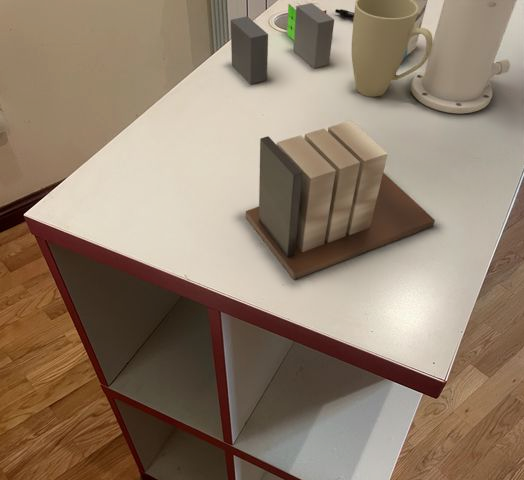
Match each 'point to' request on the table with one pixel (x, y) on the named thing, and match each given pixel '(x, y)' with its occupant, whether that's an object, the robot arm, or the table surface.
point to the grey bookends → (305, 42)
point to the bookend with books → (329, 199)
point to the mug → (383, 42)
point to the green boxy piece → (293, 15)
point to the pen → (345, 13)
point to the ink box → (416, 25)
